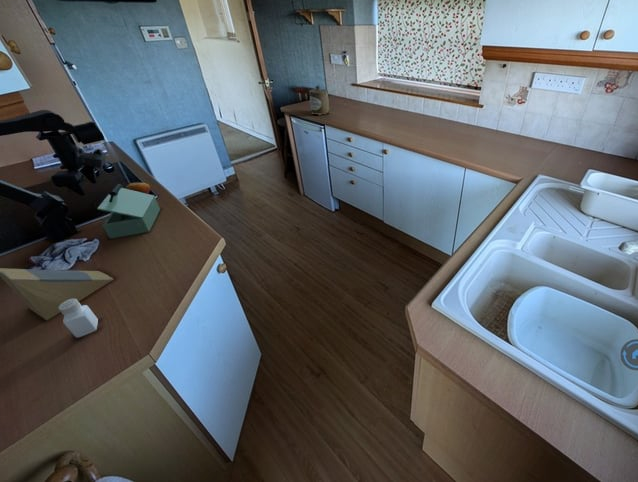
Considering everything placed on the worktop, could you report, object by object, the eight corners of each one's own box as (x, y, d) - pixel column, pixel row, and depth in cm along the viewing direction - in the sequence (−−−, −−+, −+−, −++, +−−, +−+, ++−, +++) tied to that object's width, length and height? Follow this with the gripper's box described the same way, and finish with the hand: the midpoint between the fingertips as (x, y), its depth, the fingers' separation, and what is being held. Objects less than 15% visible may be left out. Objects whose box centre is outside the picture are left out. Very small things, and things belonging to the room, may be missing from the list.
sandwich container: (115, 279, 86) (89, 240, 79) (47, 321, 74) (9, 279, 67) (98, 270, 89) (72, 231, 82) (30, 309, 77) (-8, 268, 70)
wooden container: (307, 113, 241) (304, 85, 230) (322, 109, 251) (319, 83, 240) (319, 116, 233) (316, 88, 222) (333, 113, 243) (331, 85, 231)
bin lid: (96, 209, 96) (100, 197, 95) (115, 187, 109) (118, 176, 107) (142, 218, 103) (145, 207, 101) (154, 196, 115) (157, 186, 114)
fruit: (122, 202, 120) (120, 182, 119) (134, 201, 127) (131, 183, 127) (145, 199, 121) (142, 180, 121) (155, 199, 129) (153, 181, 129)
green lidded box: (110, 238, 102) (102, 225, 99) (125, 214, 115) (119, 202, 112) (149, 231, 106) (142, 218, 103) (160, 209, 118) (154, 197, 115)
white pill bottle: (97, 331, 72) (77, 305, 67) (76, 339, 70) (53, 314, 65) (99, 319, 75) (80, 294, 70) (78, 327, 73) (57, 302, 68)
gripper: (82, 156, 93) (106, 197, 101) (106, 137, 108) (125, 174, 116) (37, 161, 89) (65, 203, 97) (68, 140, 104) (90, 179, 112)
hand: (89, 189), depth 106 cm, fingers open, 9 cm apart
